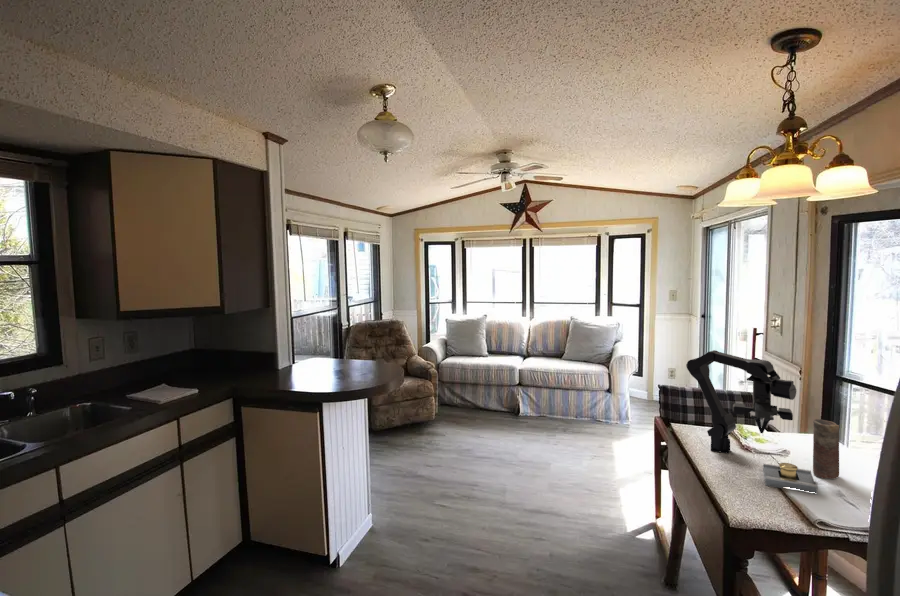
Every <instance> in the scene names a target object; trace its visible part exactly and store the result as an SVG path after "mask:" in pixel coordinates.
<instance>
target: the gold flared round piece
mask: <svg viewBox="0 0 900 596" xmlns="http://www.w3.org/2000/svg"><path fill="white" fill-rule="evenodd" d="M778 466H779V467H780V468H781V478H788V479H794V480H796V471H797V470H798V469H799V467H798V466H797V465H796V464H793V463H789V462H780V463H779V465H778Z"/></svg>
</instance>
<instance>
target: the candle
mask: <svg viewBox="0 0 900 596" xmlns="http://www.w3.org/2000/svg"><path fill="white" fill-rule="evenodd" d="M812 439H813V445H812V473H813V475H814V476H816V477H818V478H821V479H831V480H834V479H837V478H839V477H840V425H839V424H837V423H836V422H834V421H830V420H826V419H820V418H815V419H813V438H812Z"/></svg>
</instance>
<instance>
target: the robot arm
mask: <svg viewBox="0 0 900 596" xmlns="http://www.w3.org/2000/svg"><path fill="white" fill-rule="evenodd" d="M714 362H715V363H719V364H722V365H726V366H730V367H732V368H736V369H740V370H743V371H744V372H746V373H747V374H749V375H750V376H749V377H747V378H746V380H747V381H749V382H752V406H751V407H750V406H746V404H745V403H739V402H738V403H737V402H735V403H733V404H732V412H730V413H728V412H727V411H726V410H725V409H724V406H723V404H722V402H721V401H720V397H719V396H718V394H717V391H716V389H715V387H714V384H713V383H712V380H711V377H710V368H709V365H712V364H713V363H714ZM686 370H687V371H688V372H689V374H690V375H691V376H692V378H694V379H695V380H696V382H697V383H698V385H699V388H700V390H701V392H702V395H703V397H704V399H705V401H706V403H707V405H708V408H709V410H710V412H711V424H712V427H711V428H710V429H709V428H708V430H707V431H706V432H707V434H708V437H710V451H711V452H717V453H724V454H730V451H731V439H730V438H729V435H731V434H732V432H734V431H735V430H736V427H737V425H736V424H737V421H736V420H735V419H734V416H733V415H741V416H743V415H745V414H746V413H749V415H750V418H752V419H754V421H755V422H756V425H757V427H758V431H759V434H763V433H764V432H765V429H766V427H767V425H768V423H770V421H774V420H775V419H774V416H779V418H780V419H781V420H786V421H793V420H794V415H793V411H792V409H790V408H787V407H786V408H785V407H778V406H777V405H772V395H773V397H775V398H781V399H786V400H791V401H794V400H795V398H796V397H797V388H796V385H795V384H794V382H795V381H794V380H788V379H787V380H786V379H781V377H780V375H779V374H778V373H777V372H776V371H777V370H775V368H774V365H773V364H772V362H771V361H769V360H765V359H753V358H751V359H749V358H744V357H740V356H736V355H733V354H728V353H724V352H720V351H718V350H717V349H715V350H714V349H713V350H709V351H707V352H706V353H705V354H703V355H701V356H699V357H697V358H695V357H694V358H692V359H690V360H688V361H687V363H686ZM761 418H762V421H761Z"/></svg>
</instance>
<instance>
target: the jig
mask: <svg viewBox="0 0 900 596" xmlns="http://www.w3.org/2000/svg"><path fill="white" fill-rule="evenodd" d="M762 472H763V478H764V483H765V486H766V487H771V488H777V489H783V487H790V488H796V489H800V490H804V491H809V492H815V493H817V492H818V491H817V489H818V488H817V487H818V485H817V484H816V482H815V479H814V477H813V474H812V471H811V470H810V469H804V468H798V470H797V471H796V480H794V479H788V478H781V468H780V467H779V465H776V464H772V463H771V464H770V463H765V462H763V463H762Z"/></svg>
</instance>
